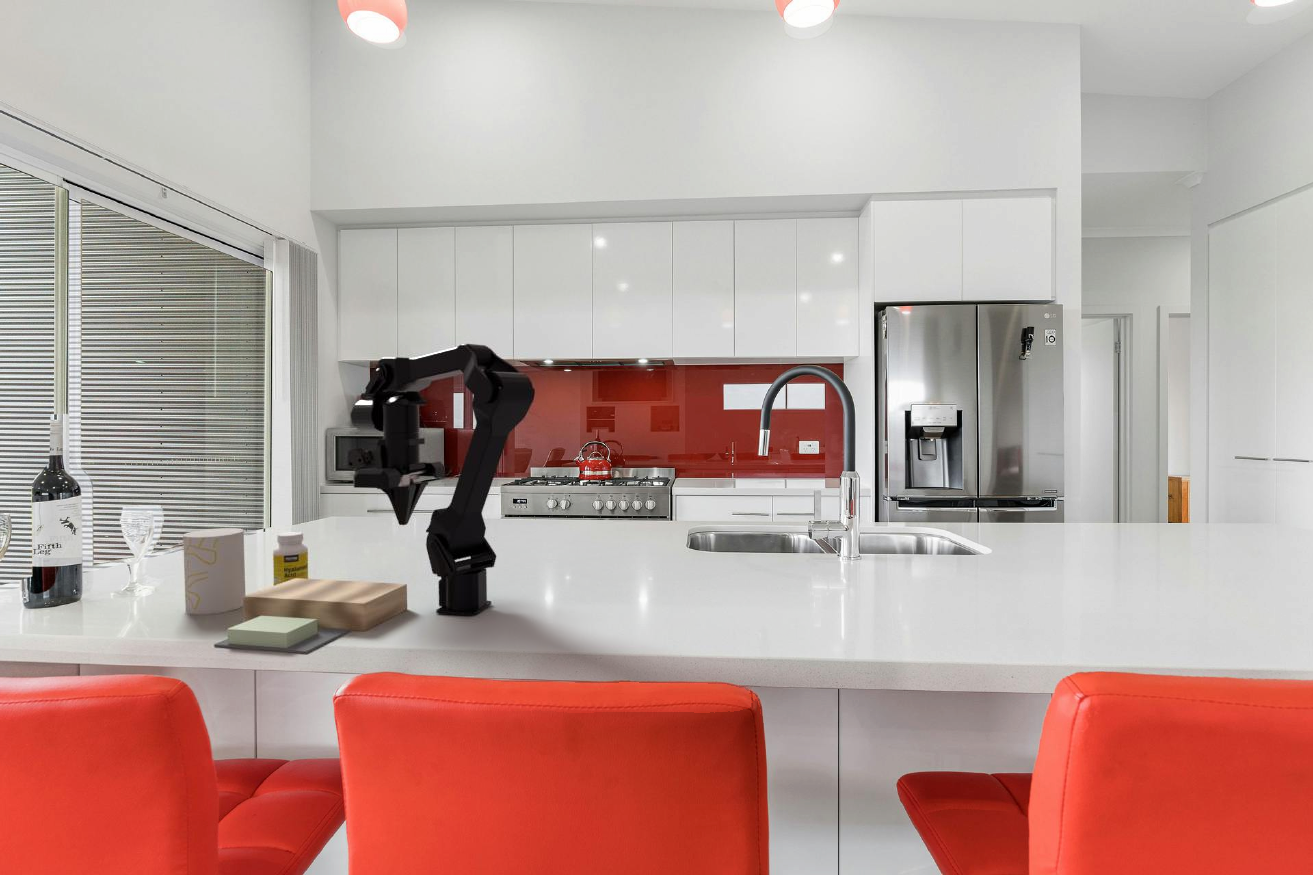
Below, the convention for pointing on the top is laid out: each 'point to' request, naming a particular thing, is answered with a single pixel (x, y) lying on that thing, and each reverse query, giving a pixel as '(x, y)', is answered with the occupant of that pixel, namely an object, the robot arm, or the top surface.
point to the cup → (214, 570)
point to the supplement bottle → (290, 558)
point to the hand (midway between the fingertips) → (403, 524)
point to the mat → (300, 647)
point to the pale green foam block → (272, 631)
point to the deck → (329, 602)
